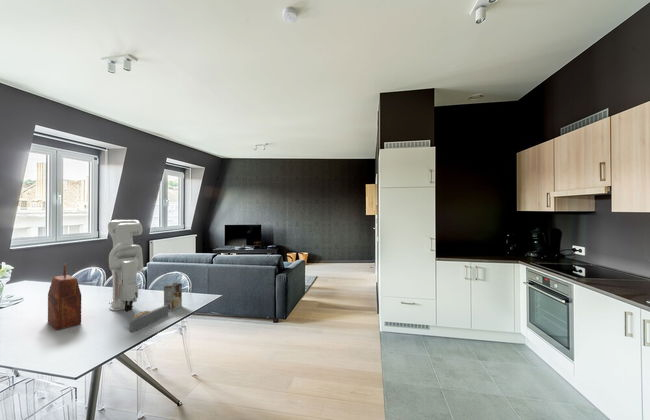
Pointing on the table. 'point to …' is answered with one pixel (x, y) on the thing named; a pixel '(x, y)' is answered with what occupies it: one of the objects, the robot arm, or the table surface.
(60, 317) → the wooden peaked block
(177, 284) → the coffee box
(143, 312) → the oak block
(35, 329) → the table surface
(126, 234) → the robot arm
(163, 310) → the gray flat board
